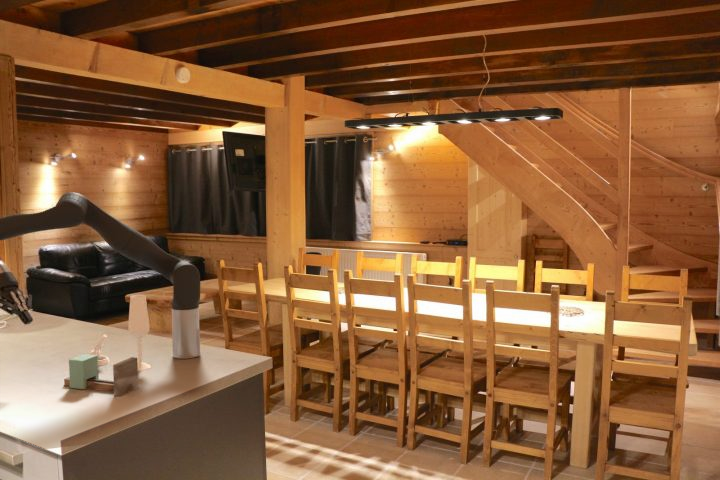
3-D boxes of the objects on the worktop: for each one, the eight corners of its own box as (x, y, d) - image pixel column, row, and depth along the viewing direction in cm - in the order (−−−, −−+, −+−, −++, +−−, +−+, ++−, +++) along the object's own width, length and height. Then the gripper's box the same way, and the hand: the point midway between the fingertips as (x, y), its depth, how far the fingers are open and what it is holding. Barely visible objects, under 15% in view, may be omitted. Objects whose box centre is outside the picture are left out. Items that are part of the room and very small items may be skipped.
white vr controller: (117, 351, 194) (98, 341, 192) (99, 378, 196) (79, 368, 194) (123, 340, 201) (105, 330, 199) (106, 366, 203) (87, 356, 201)
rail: (57, 388, 173) (56, 358, 172) (78, 379, 181) (77, 351, 180) (120, 396, 167) (118, 365, 166) (138, 387, 174) (137, 357, 174)
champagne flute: (128, 371, 189) (125, 298, 187) (130, 365, 196) (128, 294, 193) (150, 369, 191) (148, 297, 189) (151, 363, 197) (149, 293, 195)
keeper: (69, 387, 173) (68, 359, 172) (85, 380, 179) (84, 353, 178) (83, 389, 172) (82, 361, 171) (98, 382, 177) (97, 355, 177)
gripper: (8, 283, 188) (37, 326, 186) (-28, 287, 175) (3, 333, 173) (23, 269, 187) (53, 312, 184) (-11, 272, 174) (20, 318, 171)
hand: (29, 322), depth 179 cm, fingers closed
